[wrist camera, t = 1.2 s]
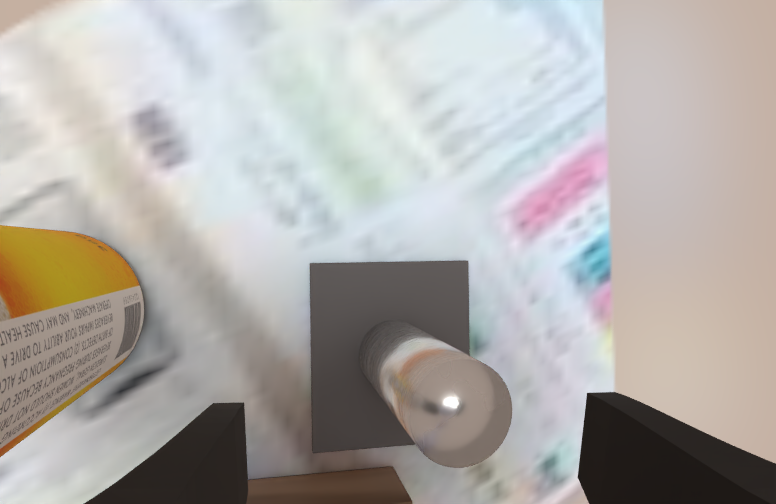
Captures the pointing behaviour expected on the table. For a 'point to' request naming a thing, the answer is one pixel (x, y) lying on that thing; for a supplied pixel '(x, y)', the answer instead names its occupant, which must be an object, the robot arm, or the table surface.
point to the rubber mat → (350, 324)
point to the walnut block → (331, 488)
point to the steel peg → (437, 393)
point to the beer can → (59, 323)
